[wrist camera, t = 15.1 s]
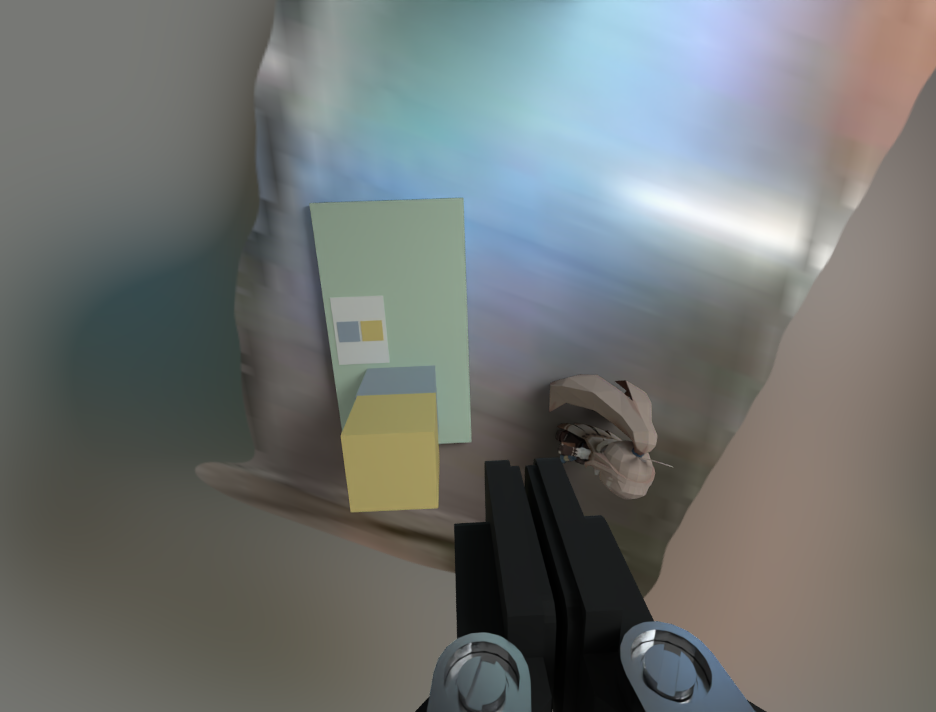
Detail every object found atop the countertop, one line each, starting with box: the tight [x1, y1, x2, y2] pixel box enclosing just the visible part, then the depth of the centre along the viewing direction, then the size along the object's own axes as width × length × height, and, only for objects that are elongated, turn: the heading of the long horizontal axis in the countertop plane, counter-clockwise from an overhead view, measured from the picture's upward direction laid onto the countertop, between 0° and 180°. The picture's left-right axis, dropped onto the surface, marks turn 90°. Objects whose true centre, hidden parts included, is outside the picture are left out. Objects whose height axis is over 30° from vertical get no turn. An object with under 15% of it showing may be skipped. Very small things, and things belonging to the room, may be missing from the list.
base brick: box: [355, 365, 439, 433], centre depth 39 cm, size 6×6×6 cm
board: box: [309, 198, 471, 444], centre depth 41 cm, size 22×12×1 cm, turn 2°
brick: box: [341, 393, 439, 512], centre depth 34 cm, size 6×6×6 cm
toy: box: [549, 374, 674, 499], centre depth 38 cm, size 9×8×15 cm
